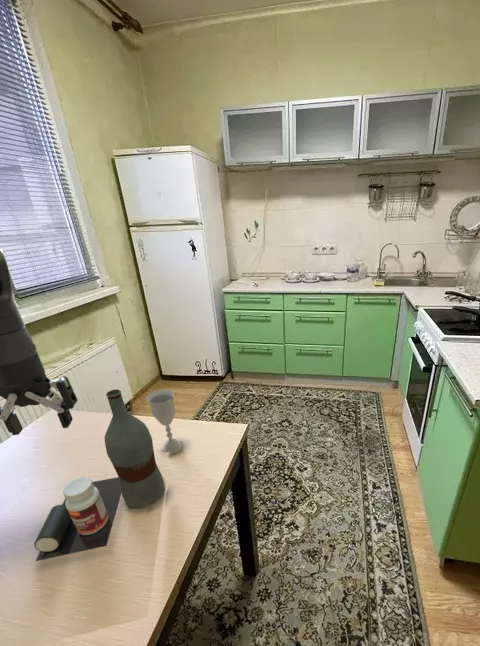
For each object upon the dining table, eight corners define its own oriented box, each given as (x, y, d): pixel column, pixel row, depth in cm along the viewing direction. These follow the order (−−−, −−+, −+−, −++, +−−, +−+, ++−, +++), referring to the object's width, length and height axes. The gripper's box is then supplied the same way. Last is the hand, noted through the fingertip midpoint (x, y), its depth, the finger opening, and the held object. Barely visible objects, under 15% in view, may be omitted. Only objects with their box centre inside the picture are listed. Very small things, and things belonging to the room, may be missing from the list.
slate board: (38, 565, 65) (35, 561, 64) (73, 489, 82) (71, 485, 81) (108, 550, 67) (106, 545, 66) (127, 479, 84) (126, 475, 84)
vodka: (124, 518, 74) (83, 409, 60) (126, 490, 81) (90, 386, 68) (167, 505, 77) (137, 398, 63) (165, 478, 84) (138, 378, 71)
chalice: (154, 452, 94) (140, 399, 86) (170, 438, 99) (158, 387, 91) (175, 458, 91) (162, 404, 83) (190, 443, 97) (179, 392, 89)
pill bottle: (74, 540, 68) (55, 502, 63) (80, 516, 73) (63, 479, 68) (107, 530, 69) (91, 493, 64) (110, 508, 75) (96, 471, 70)
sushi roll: (36, 554, 65) (31, 539, 63) (53, 519, 72) (48, 505, 70) (61, 550, 66) (56, 535, 64) (75, 516, 73) (71, 502, 71)
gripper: (-54, 369, 52) (-10, 447, 59) (47, 358, 54) (77, 435, 62) (-25, 350, 58) (11, 423, 65) (63, 342, 61) (88, 413, 68)
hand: (43, 429), depth 64 cm, fingers open, 8 cm apart
